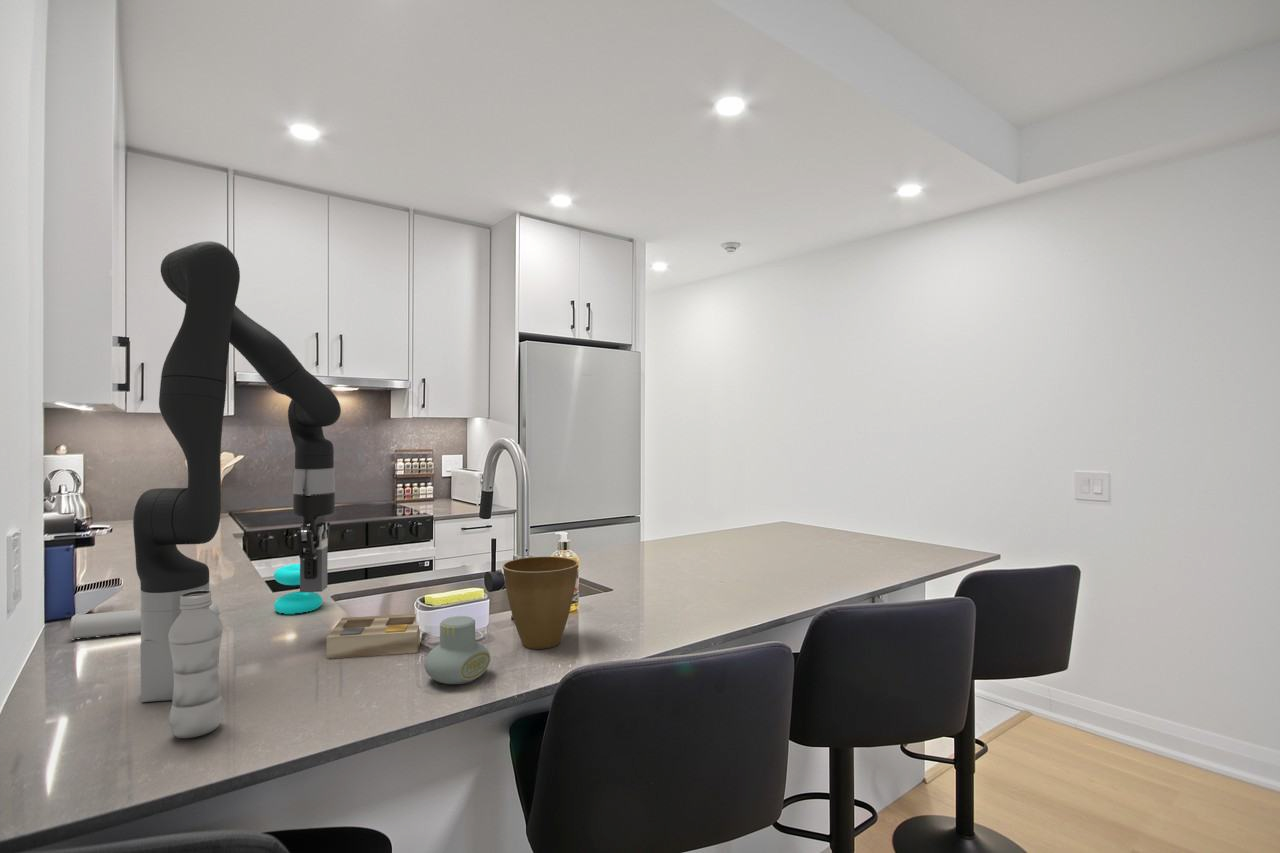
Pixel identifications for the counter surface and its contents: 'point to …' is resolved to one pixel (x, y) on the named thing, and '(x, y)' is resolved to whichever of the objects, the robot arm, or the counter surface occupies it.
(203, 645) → the plastic bottle
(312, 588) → the plug
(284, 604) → the donuts
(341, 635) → the socket block
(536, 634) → the plant pot
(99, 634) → the tube
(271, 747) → the counter surface
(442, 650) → the air freshener
